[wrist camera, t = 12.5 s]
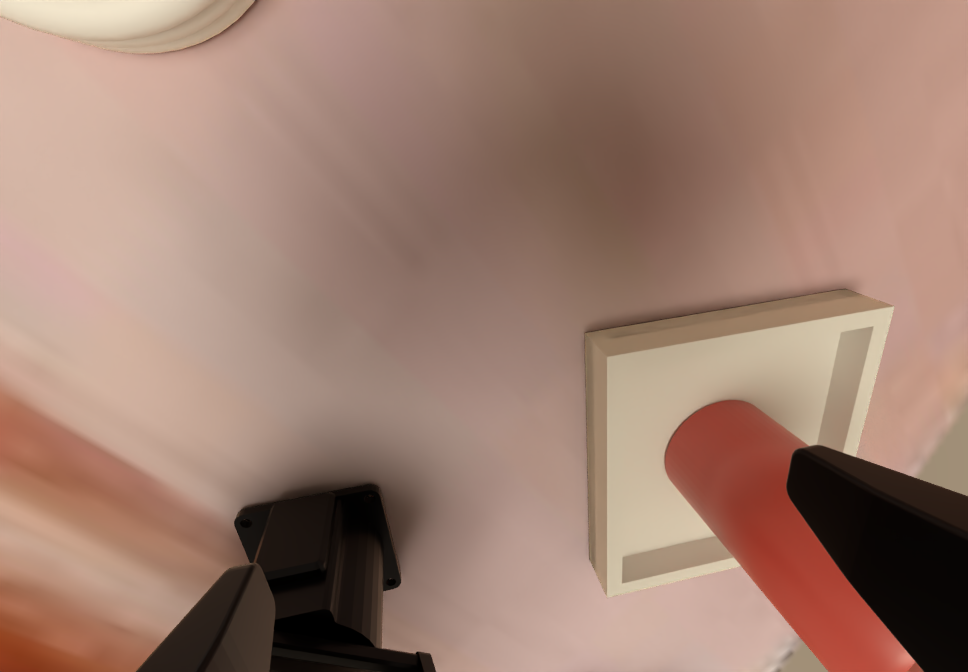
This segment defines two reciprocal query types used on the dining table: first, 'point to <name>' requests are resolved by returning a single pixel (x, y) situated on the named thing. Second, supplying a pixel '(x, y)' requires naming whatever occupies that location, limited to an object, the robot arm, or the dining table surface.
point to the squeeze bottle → (776, 534)
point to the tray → (697, 384)
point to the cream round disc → (128, 21)
